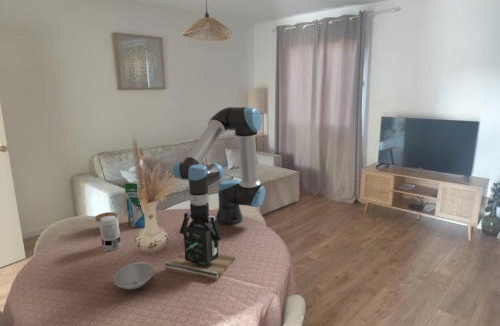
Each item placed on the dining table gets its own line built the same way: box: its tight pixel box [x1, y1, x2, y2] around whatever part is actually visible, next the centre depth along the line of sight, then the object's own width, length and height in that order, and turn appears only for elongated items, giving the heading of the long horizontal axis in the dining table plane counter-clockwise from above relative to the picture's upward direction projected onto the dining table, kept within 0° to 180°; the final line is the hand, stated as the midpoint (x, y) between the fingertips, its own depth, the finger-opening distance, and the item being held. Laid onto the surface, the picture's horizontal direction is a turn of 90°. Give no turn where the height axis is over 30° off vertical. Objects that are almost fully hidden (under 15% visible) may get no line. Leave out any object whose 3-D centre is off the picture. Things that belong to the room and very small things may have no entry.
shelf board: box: [164, 250, 236, 282], centre depth 143 cm, size 18×24×3 cm
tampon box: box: [183, 223, 219, 266], centre depth 139 cm, size 11×9×15 cm
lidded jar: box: [94, 211, 118, 230], centre depth 179 cm, size 11×11×9 cm
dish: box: [113, 261, 155, 290], centre depth 128 cm, size 18×14×5 cm
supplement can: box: [99, 215, 122, 252], centre depth 157 cm, size 8×8×15 cm
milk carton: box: [124, 180, 145, 228], centre depth 184 cm, size 9×9×25 cm
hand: (201, 251), depth 140 cm, fingers closed on tampon box, 12 cm apart
